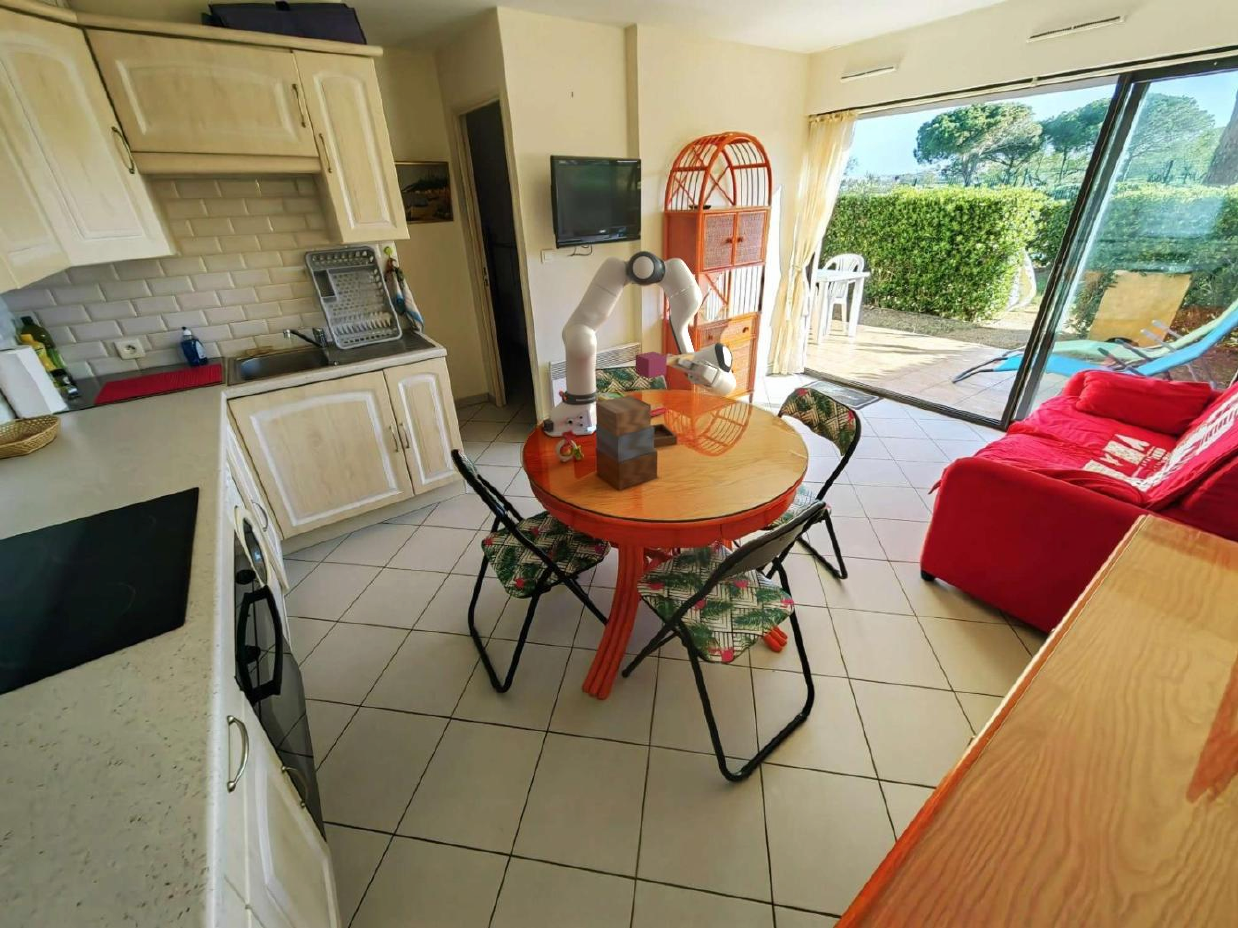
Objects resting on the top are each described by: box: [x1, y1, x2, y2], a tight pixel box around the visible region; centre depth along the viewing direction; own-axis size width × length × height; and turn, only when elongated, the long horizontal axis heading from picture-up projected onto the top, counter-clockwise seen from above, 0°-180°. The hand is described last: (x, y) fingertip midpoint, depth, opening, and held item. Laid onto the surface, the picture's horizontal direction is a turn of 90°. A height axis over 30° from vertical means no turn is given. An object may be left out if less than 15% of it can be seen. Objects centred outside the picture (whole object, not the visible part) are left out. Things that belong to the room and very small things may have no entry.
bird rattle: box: [555, 430, 585, 463], centre depth 168 cm, size 6×11×9 cm
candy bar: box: [651, 406, 669, 417], centre depth 204 cm, size 16×4×3 cm, turn 123°
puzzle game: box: [598, 390, 627, 402], centre depth 213 cm, size 12×5×20 cm
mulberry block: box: [635, 351, 694, 379], centre depth 163 cm, size 20×7×6 cm, turn 123°
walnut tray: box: [651, 423, 678, 448], centre depth 183 cm, size 17×13×3 cm
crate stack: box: [595, 394, 658, 491], centre depth 154 cm, size 14×13×24 cm
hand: (674, 358), depth 165 cm, fingers closed on mulberry block, 2 cm apart
